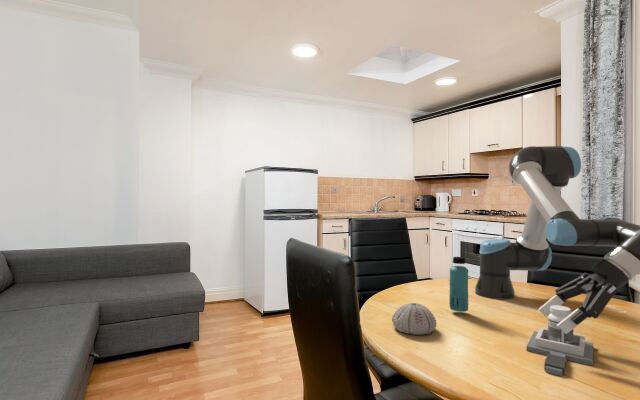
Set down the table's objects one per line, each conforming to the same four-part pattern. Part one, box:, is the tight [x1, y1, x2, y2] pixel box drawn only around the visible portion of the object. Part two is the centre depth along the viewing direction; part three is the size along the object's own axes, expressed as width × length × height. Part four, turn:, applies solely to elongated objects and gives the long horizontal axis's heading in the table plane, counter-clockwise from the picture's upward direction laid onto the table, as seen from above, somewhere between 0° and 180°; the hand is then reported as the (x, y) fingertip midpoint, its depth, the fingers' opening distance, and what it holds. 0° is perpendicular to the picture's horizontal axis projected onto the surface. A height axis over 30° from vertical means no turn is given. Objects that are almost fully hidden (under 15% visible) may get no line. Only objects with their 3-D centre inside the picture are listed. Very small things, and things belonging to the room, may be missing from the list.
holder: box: [526, 326, 594, 377], centre depth 92 cm, size 14×25×3 cm, turn 142°
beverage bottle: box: [448, 256, 470, 313], centre depth 127 cm, size 6×7×20 cm
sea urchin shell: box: [391, 302, 437, 336], centre depth 111 cm, size 13×14×8 cm
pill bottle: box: [547, 305, 574, 345], centre depth 97 cm, size 6×6×10 cm
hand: (550, 320), depth 97 cm, fingers open, 13 cm apart
